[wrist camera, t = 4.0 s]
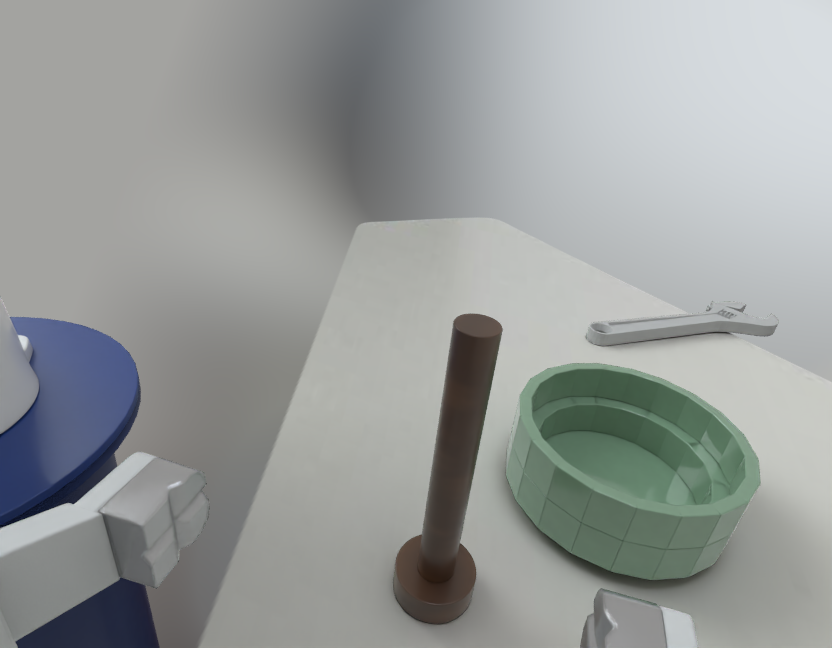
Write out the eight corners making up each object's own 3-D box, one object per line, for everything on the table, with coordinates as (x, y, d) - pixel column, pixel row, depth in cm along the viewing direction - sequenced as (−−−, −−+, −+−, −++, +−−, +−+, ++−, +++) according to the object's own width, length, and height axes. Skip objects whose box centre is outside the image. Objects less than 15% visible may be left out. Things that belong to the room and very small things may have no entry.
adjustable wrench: (594, 348, 55) (599, 333, 54) (564, 319, 60) (568, 305, 60) (783, 336, 62) (789, 323, 61) (741, 311, 67) (746, 298, 66)
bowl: (500, 558, 31) (520, 484, 28) (506, 410, 44) (519, 349, 41) (759, 613, 30) (807, 541, 27) (687, 443, 43) (714, 382, 40)
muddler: (385, 613, 28) (415, 341, 20) (401, 544, 32) (432, 293, 24) (468, 632, 27) (533, 362, 19) (474, 560, 31) (531, 310, 23)
